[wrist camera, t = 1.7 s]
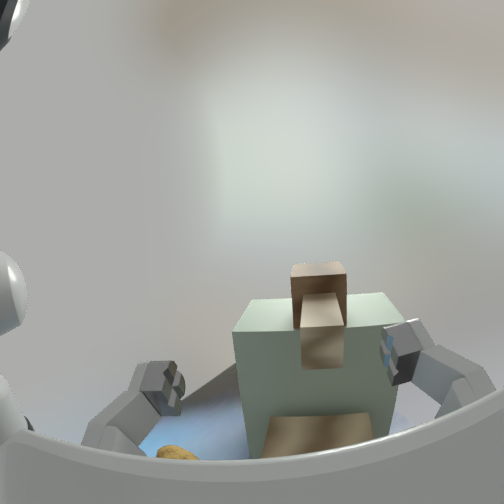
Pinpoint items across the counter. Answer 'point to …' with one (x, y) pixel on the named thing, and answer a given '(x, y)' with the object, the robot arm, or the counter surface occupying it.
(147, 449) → the counter surface
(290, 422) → the low oak block
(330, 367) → the walnut handle block
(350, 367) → the large sage green box
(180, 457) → the potato
